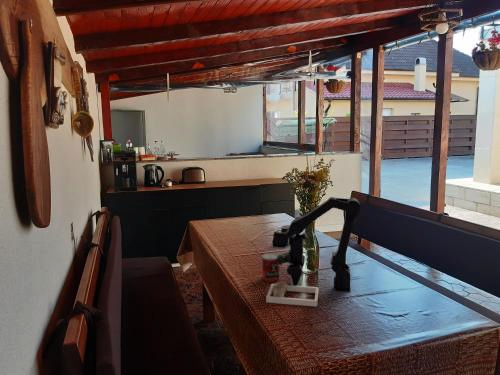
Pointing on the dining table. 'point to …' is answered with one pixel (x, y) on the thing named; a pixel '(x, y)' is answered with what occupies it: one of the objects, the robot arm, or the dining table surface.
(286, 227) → the coffee mug
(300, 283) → the block teal
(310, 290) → the tray
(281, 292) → the maple block
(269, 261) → the canned food
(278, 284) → the maple block
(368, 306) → the dining table surface
